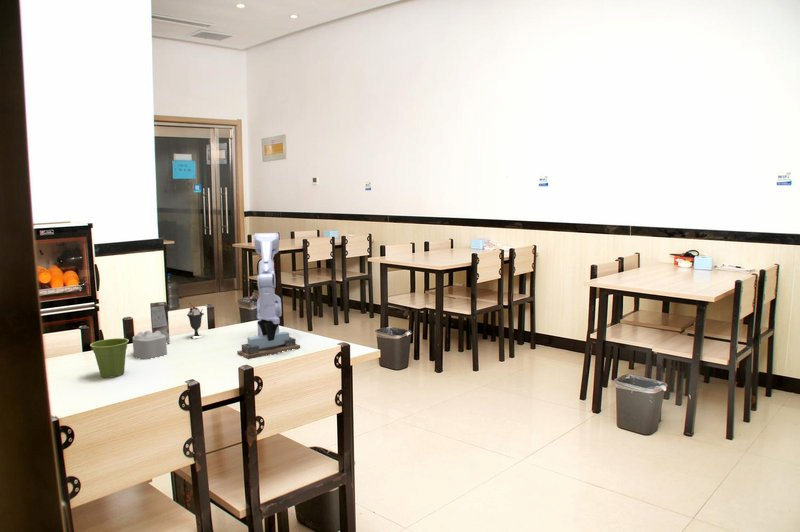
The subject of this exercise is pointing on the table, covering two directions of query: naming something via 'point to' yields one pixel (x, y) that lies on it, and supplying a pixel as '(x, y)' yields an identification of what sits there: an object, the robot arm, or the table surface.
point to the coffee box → (160, 318)
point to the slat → (263, 341)
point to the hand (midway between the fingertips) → (268, 339)
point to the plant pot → (110, 356)
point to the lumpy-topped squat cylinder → (149, 345)
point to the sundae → (195, 318)
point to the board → (267, 349)
